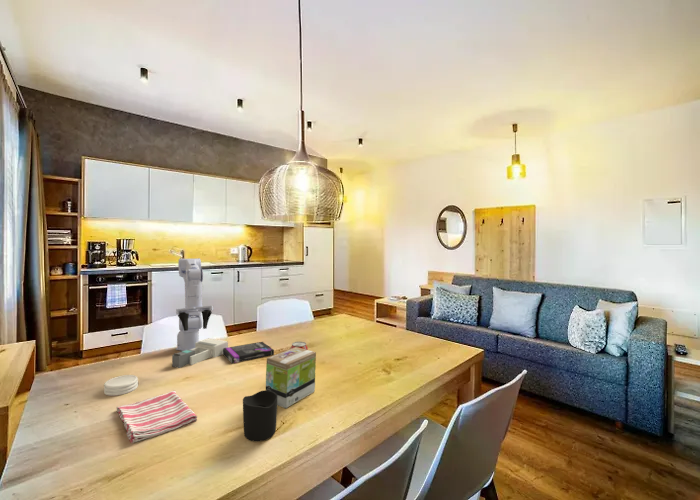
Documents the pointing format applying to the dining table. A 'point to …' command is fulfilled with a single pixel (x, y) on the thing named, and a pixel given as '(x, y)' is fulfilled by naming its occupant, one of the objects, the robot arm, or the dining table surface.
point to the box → (247, 352)
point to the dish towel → (155, 416)
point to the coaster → (120, 385)
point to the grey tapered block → (182, 358)
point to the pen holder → (260, 415)
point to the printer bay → (207, 349)
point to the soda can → (299, 345)
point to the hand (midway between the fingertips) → (195, 329)
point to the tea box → (291, 375)
